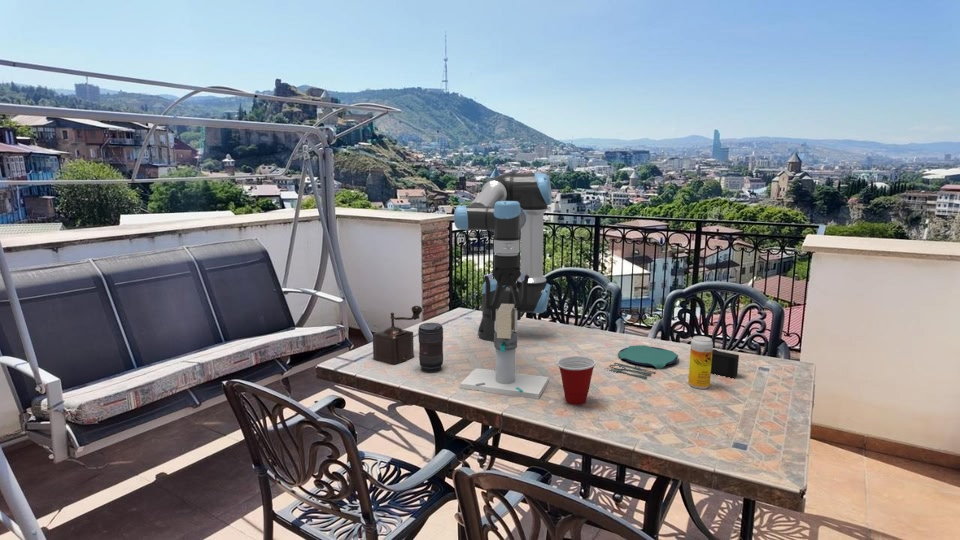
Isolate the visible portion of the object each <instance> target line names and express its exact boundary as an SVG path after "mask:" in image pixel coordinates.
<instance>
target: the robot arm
mask: <svg viewBox="0 0 960 540" xmlns="http://www.w3.org/2000/svg"><path fill="white" fill-rule="evenodd" d="M551 185H552V184H551V180H550V177H549V175H548V174H547V173H541V172H526V173H525V172H523V173H522V172H521V173H519V172H518V173H517V172H516V173H515V172H514V173H513V172H510V173H509V172H508V173H503V174H500V175H497V176H495V177H493V178H491V179H489V180H488V181H487V182H485V183H484V185H483V186H482V188H481V191H480V193H479V194H478V195H477V196H476V197H475V198H474V199H473V200H472V202H470V204H468V205H458V206H456V208H455V209H454V213H453V222H454V226H455V228H456V230H465V231H493V253H494V255H493V269H492V272H491V273H489V274H484V275H483V279H484V282H483V283H482V291H481V294H482V295H481V297H482V300H481V302H482V303H481V305H482V307H481V308H482V309H481V310H482V313H481V315H482V316H481V320H480V323H479V326H478V329H477V337H478V336H479V337H478V338H480V339H482V340H484V341H490V340H491V342H494V333H495V332H497V311H498V309H499V307H500V306H501V304H515V306H514V309H513V330H514V332H517V333H518V321H521V318H522V313H526V314H527V313H529V314H544V312H546V310H547V308H548V304H549V303H548V302H549V299H550V292H551V291H550V290H551V284H549V283H547V278H546V277H545V276H544V275H543V274H544V271H543V270H544V269H543V268H544V266H543V264H544V259H543V258H544V255H543V254H544V215H545V213H546V211H548V208H549V207H548V206H551V205H552V203H553V199H552V198H553V193H552V186H551ZM519 253H520V255H519Z"/></svg>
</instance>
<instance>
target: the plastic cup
mask: <svg viewBox="0 0 960 540" xmlns="http://www.w3.org/2000/svg"><path fill="white" fill-rule="evenodd" d="M596 363H597V362H596V360H595V359H594V358H593V357H589V356H585V355H571V356H568V355H567V356H564V357H561V358H559V359H558V360H557V361H556V365H557V366H558V369H559V372H560V375H561V383H562V390H563V395H564V400H565V402H566V403H567V404H569V405H572V406H583V405H585V404H586V402H587V401H588V400H587V399H588V396H589V395H588V393H589V391H590V387H591V386H590V385H591V381H592V376H593V373H594V368H595V366H596Z"/></svg>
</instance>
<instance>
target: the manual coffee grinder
mask: <svg viewBox="0 0 960 540" xmlns="http://www.w3.org/2000/svg"><path fill="white" fill-rule="evenodd" d="M410 310H411V312H412V316H411V317H406V316H401V317H400V316H398V317H395V312H390V321H391V322H390V323H391V326H390V327H388V328H386V329H384V330H381V331H378V332H374V333H372V352H373V353H372V355H373V357H372V359H373V360H374V361H378V362H381V363H383V364H384V363H385V364H388V365H392V366H395V365H398V364H401V363H403V362H404V363H405V362H406V361H408V360H410V359H412V358H414V357H415V352H414V332H413V331H410V330H406V329H402V328H401V327H398V326H396V325H395V320H396V321H402V320H403V321H412V320H414V321H416V320H417V319H420V315H421V313H423V308H422V307H421V306H419V305H413V306H412V307H411V309H410Z"/></svg>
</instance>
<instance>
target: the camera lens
mask: <svg viewBox="0 0 960 540" xmlns="http://www.w3.org/2000/svg"><path fill="white" fill-rule="evenodd" d="M417 330H418V331H417V333H418V336H417V337H418V348H419V349H418V351H419V354H418V359H419V360H418V361H419V366H420V368H421V369H420V370H421V371H422V372H424V373H437V372H440V371H441V370H442V369H443V368H442V366H443V364H444V344H443V343H444V328H443V324H441V323H439V322H425V323H421V324H420V325H419V326H418V329H417Z"/></svg>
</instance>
